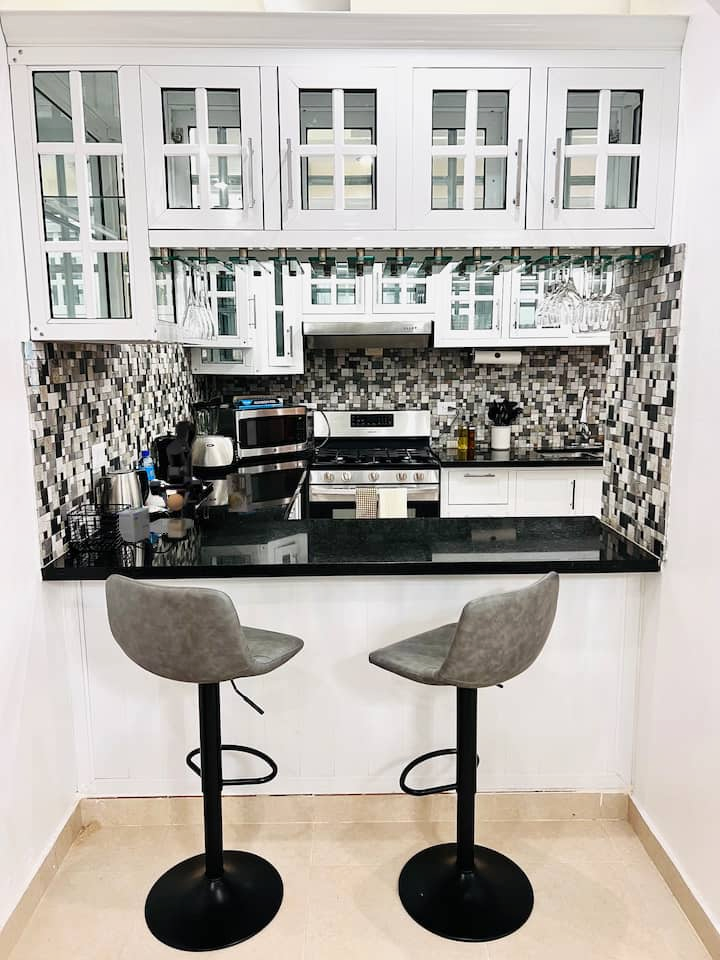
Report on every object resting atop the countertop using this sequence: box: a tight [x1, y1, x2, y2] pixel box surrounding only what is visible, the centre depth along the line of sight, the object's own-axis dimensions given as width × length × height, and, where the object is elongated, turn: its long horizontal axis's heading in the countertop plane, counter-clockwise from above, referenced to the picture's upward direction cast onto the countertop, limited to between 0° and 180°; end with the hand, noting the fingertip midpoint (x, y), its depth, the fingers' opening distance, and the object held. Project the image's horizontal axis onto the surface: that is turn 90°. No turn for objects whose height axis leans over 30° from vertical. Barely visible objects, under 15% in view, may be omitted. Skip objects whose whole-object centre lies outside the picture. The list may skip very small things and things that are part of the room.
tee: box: [167, 517, 187, 538], centre depth 257 cm, size 5×5×6 cm
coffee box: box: [226, 472, 254, 513], centre depth 305 cm, size 9×6×16 cm
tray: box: [150, 518, 193, 533], centre depth 268 cm, size 12×12×3 cm
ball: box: [167, 493, 184, 511], centre depth 256 cm, size 6×6×6 cm
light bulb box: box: [116, 507, 151, 544], centre depth 252 cm, size 11×7×11 cm, turn 166°
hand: (175, 506), depth 254 cm, fingers closed on ball, 6 cm apart
